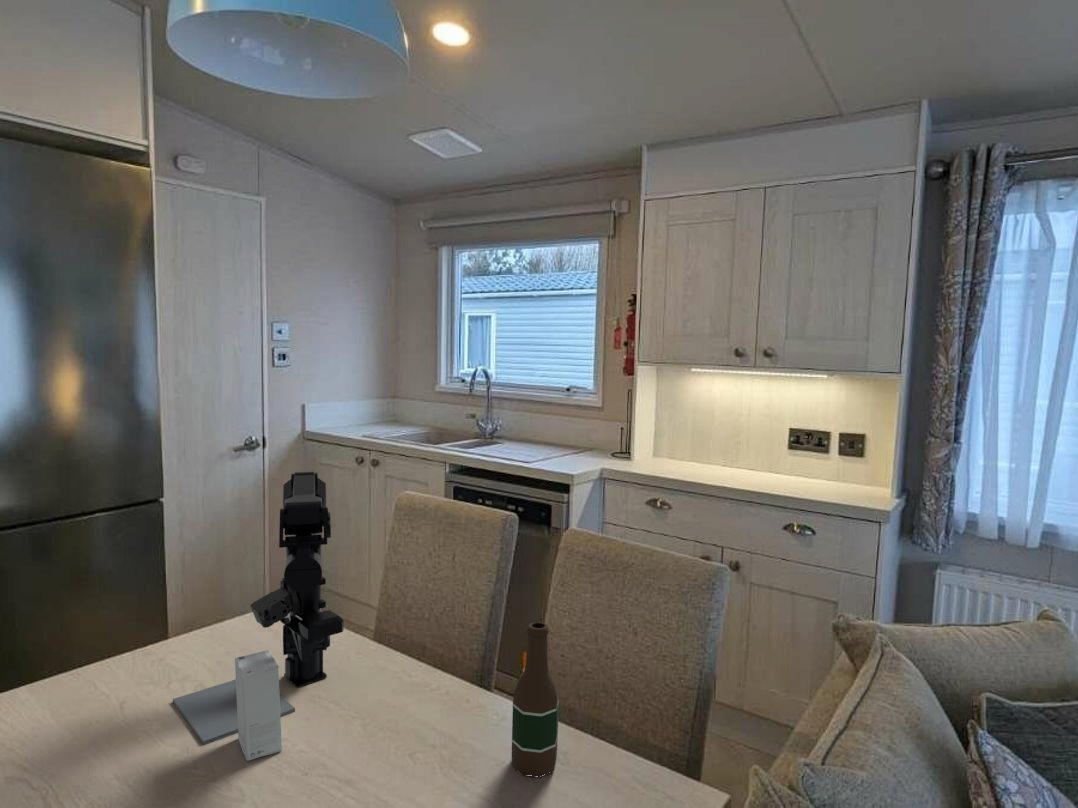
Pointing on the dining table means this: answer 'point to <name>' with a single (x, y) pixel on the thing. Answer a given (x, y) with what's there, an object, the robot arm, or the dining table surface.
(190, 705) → the mat
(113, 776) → the dining table surface
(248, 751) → the skincare box
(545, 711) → the beer bottle
